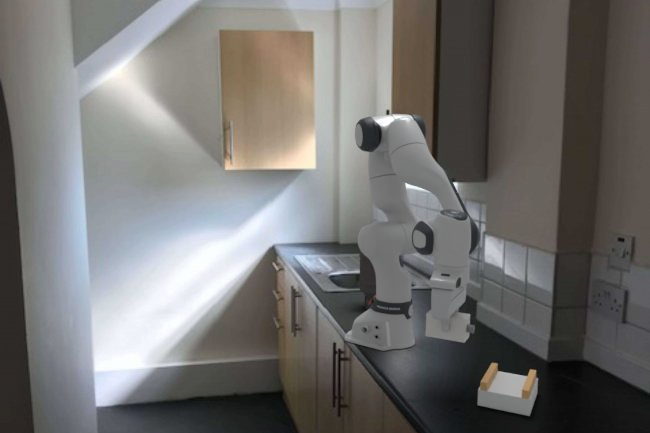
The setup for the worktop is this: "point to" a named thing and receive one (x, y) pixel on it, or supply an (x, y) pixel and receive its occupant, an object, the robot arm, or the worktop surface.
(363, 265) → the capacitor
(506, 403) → the white tray with rails
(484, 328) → the worktop surface
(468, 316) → the white block with knob
